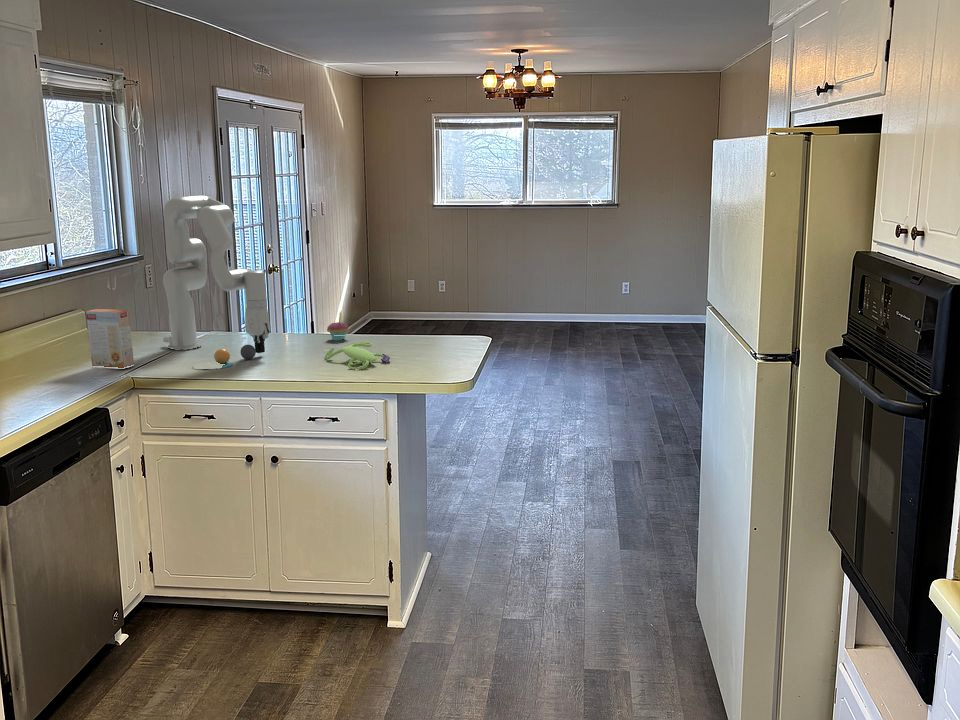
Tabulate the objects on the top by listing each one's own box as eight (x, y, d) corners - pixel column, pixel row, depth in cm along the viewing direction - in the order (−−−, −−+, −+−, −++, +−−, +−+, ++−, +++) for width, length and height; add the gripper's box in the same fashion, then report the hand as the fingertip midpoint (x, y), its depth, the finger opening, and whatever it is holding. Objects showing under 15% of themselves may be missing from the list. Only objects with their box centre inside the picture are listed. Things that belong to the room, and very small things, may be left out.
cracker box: (135, 366, 317) (129, 309, 312) (123, 370, 311) (117, 312, 307) (103, 364, 321) (97, 307, 317) (91, 368, 316) (85, 310, 311)
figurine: (364, 352, 337) (364, 338, 335) (400, 365, 315) (399, 349, 314) (320, 359, 326) (319, 344, 325) (353, 372, 305) (352, 356, 304)
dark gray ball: (255, 345, 329) (252, 359, 330) (240, 342, 327) (237, 357, 327) (258, 346, 325) (255, 361, 325) (243, 344, 322) (240, 359, 322)
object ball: (229, 362, 323) (216, 368, 319) (222, 349, 323) (209, 355, 320) (234, 357, 319) (221, 362, 315) (227, 344, 319) (214, 349, 315)
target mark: (184, 369, 312) (184, 368, 312) (205, 360, 325) (205, 360, 325) (220, 370, 309) (220, 370, 309) (239, 362, 322) (239, 361, 322)
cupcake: (352, 338, 362) (351, 309, 360) (341, 342, 355) (339, 312, 352) (335, 336, 366) (333, 308, 363) (323, 340, 358) (321, 311, 356)
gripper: (236, 303, 329) (240, 351, 333) (259, 307, 319) (263, 356, 323) (253, 300, 334) (257, 348, 338) (276, 304, 325) (280, 353, 329)
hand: (260, 352), depth 331 cm, fingers closed
